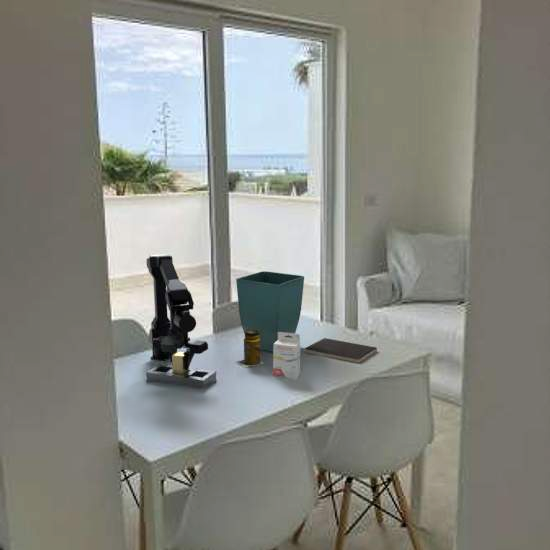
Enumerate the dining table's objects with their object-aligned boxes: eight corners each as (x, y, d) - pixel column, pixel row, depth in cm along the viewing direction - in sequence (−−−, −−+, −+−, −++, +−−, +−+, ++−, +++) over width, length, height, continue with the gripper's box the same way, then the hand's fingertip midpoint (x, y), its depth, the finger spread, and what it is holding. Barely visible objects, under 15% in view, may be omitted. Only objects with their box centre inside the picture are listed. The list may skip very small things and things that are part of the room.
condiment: (265, 363, 217) (264, 332, 215) (245, 368, 212) (244, 336, 210) (254, 358, 223) (254, 327, 220) (235, 362, 218) (234, 331, 216)
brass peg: (173, 380, 200) (172, 355, 198) (179, 376, 204) (178, 351, 202) (183, 382, 198) (182, 356, 197) (189, 378, 202) (188, 352, 200)
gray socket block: (146, 380, 201) (146, 372, 200) (160, 371, 209) (160, 363, 209) (203, 389, 193) (203, 380, 192) (216, 379, 201) (216, 371, 201)
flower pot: (305, 343, 240) (305, 275, 234) (279, 357, 223) (278, 284, 218) (264, 336, 250) (263, 270, 245) (236, 348, 234) (234, 279, 228)
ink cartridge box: (272, 376, 204) (272, 335, 201) (277, 371, 209) (277, 331, 206) (296, 378, 201) (296, 337, 198) (300, 373, 206) (300, 333, 203)
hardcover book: (358, 364, 216) (358, 358, 216) (304, 353, 229) (304, 348, 229) (376, 352, 229) (376, 347, 229) (324, 342, 242) (325, 337, 242)
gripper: (141, 328, 193) (144, 373, 196) (191, 334, 187) (193, 380, 190) (160, 319, 203) (162, 362, 207) (208, 324, 197) (209, 369, 200)
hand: (180, 368), depth 200 cm, fingers open, 4 cm apart
